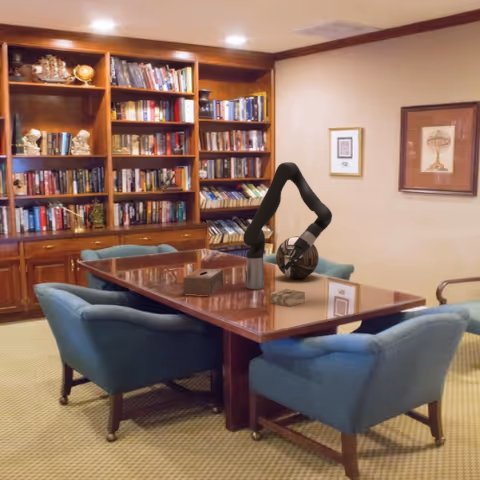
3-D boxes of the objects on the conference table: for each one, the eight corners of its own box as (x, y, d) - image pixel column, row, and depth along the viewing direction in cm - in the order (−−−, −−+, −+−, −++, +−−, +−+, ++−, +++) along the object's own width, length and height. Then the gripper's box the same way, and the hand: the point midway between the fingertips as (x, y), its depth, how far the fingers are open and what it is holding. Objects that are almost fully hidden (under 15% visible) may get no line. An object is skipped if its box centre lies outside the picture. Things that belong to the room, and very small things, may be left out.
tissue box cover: (209, 297, 317) (209, 278, 316) (183, 296, 321) (183, 277, 319) (223, 286, 342) (222, 269, 341) (198, 285, 345) (198, 268, 344)
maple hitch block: (270, 302, 301) (270, 292, 300) (286, 298, 309) (286, 288, 309) (289, 306, 292) (289, 296, 292) (304, 301, 301) (304, 292, 300)
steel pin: (283, 275, 299) (282, 256, 298) (287, 274, 301) (286, 255, 300) (288, 276, 297) (287, 256, 295) (292, 275, 299) (291, 255, 298)
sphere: (324, 275, 365) (323, 234, 361) (311, 283, 342) (310, 240, 339) (285, 273, 375) (284, 233, 372) (270, 281, 353) (269, 238, 349)
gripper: (293, 235, 306) (272, 261, 303) (307, 238, 293) (285, 265, 290) (302, 245, 309) (281, 271, 305) (317, 248, 296) (295, 275, 293)
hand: (283, 268), depth 298 cm, fingers closed on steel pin, 2 cm apart
